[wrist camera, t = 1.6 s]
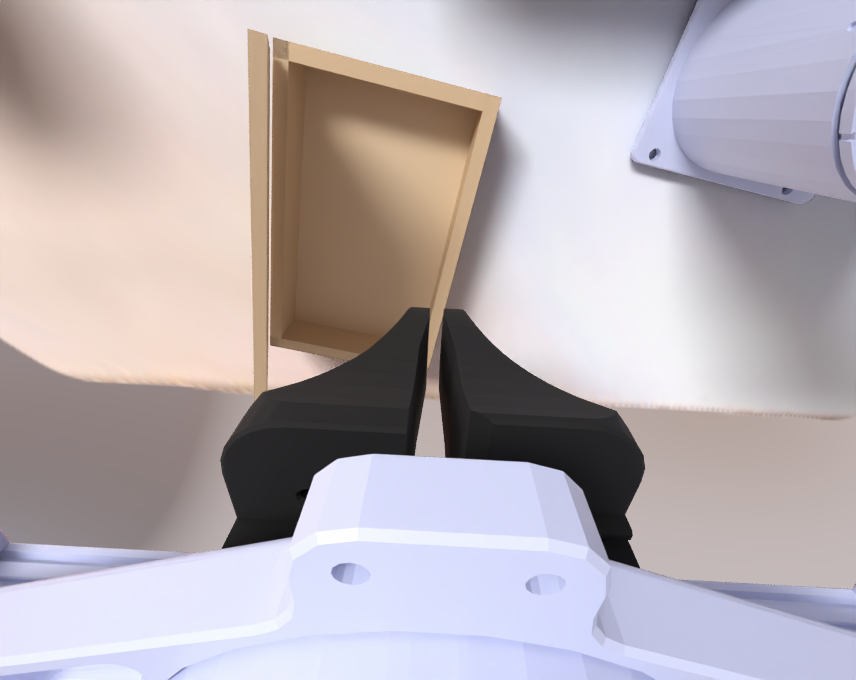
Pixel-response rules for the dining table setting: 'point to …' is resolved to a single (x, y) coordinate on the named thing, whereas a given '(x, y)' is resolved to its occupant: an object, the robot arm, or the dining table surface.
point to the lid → (259, 200)
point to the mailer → (366, 197)
